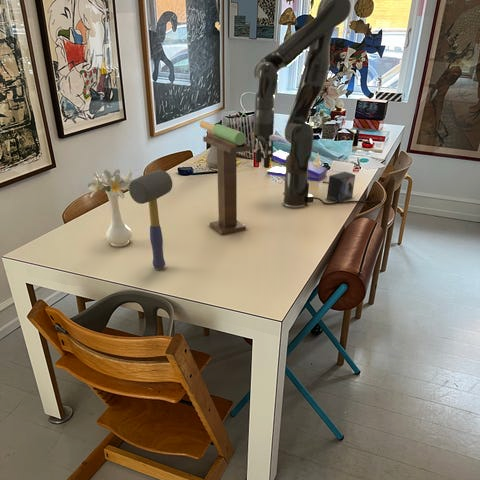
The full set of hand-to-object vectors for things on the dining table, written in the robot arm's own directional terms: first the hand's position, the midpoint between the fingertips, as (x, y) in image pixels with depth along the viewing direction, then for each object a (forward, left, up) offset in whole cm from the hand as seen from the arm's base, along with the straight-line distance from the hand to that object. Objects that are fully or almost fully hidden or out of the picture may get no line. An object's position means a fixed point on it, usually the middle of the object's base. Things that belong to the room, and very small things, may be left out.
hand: (262, 164), depth 189 cm
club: (+21, +11, +16) cm, 29 cm away
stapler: (-35, -39, -18) cm, 55 cm away
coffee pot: (-6, -65, -18) cm, 68 cm away
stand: (+20, +16, -18) cm, 31 cm away
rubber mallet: (+51, +41, -18) cm, 68 cm away
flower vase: (+60, +16, -18) cm, 65 cm away
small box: (-37, +1, -18) cm, 41 cm away
